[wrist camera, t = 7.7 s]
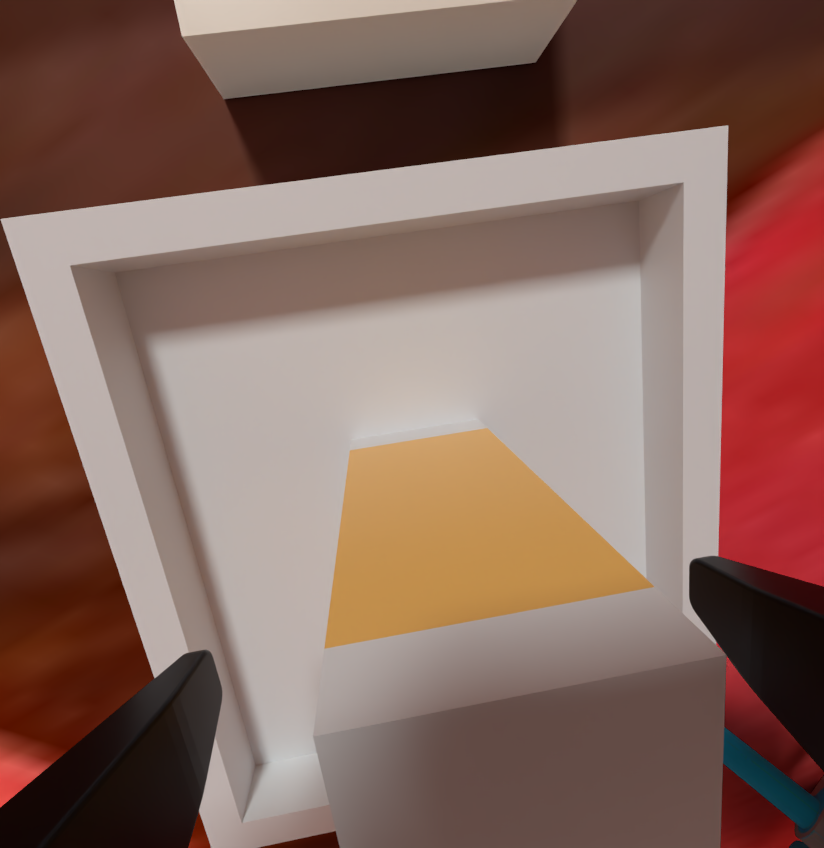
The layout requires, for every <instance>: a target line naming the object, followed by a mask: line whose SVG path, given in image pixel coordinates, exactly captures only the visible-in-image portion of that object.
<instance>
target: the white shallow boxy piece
mask: <svg viewBox="0 0 824 848" xmlns="http://www.w3.org/2000/svg"><path fill="white" fill-rule="evenodd" d="M576 1H577V0H174V3H175V7H176V12H177V16H178V21H179V25H180V30H181V34H182V37H183V39H184V40H185V42H186V43H187V45H188V46H189V48H190V49H191V51H192V52H193V54H194V55H195V57H196V58H197V60H198V61H199V63H200V64H201V66H202V67H203V69H204V70H205V72H206V73H207V75H208V76H209V78H210V79H211V81H212V82H213V84H214V85H215V87H216V88H217V90H218V91H219V93H220V94H221V96H222V97H223V99H230V98H238V97H247V96H255V95H264V94H272V93H281V92H289V91H298V90H307V89H315V88H324V87H332V86H341V85H349V84H358V83H366V82H375V81H383V80H392V79H400V78H409V77H417V76H426V75H434V74H443V73H451V72H460V71H469V70H477V69H486V68H494V67H503V66H511V65H520V64H528V63H536V61H537V60H538V58H539V57H540V55H541V54H542V52H543V51H544V49H545V48H546V46H547V45H548V43H549V42H550V40H551V39H552V37H553V36H554V34H555V33H556V31H557V30H558V28H559V27H560V25H561V24H562V22H563V21H564V19H565V18H566V16H567V15H568V13H569V12H570V10H571V9H572V7H573V6H574V4H575V3H576Z"/></svg>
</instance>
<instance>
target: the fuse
mask: <svg viewBox="0 0 824 848" xmlns="http://www.w3.org/2000/svg"><path fill="white" fill-rule="evenodd" d="M725 685H726V654H725V653H724V652H723V651H722V650H721V649H720V648H719V647H718V646H717V645H716V644H714V643H713V642H712V641H711V640H710V639H709V638H708V637H707V636H706V635H705V634H704V633H703V632H702V631H701V630H700V629H699V628H698V627H697V626H695V625H694V624H693V623H692V622H691V621H690V620H689V619H688V618H687V617H686V616H685V615H684V614H683V613H682V612H681V611H680V610H679V609H678V608H677V607H675V606H674V605H673V604H672V603H671V602H670V601H669V600H668V599H667V598H666V597H665V596H664V595H663V594H662V593H661V592H660V591H659V590H658V589H656V588H655V587H654V586H653V585H652V584H651V583H650V582H649V581H648V580H647V579H646V578H645V577H644V576H643V575H642V574H641V573H640V572H639V571H638V570H636V569H635V568H634V567H633V566H632V565H631V564H630V563H629V562H628V561H627V560H626V559H625V558H624V557H623V556H622V555H621V554H620V553H619V552H617V551H616V550H615V549H614V548H613V547H612V546H611V545H610V544H609V543H608V542H607V541H606V540H605V539H604V538H603V537H602V536H601V535H600V534H598V533H597V532H596V531H595V530H594V529H593V528H592V527H591V526H590V525H589V524H588V523H587V522H586V521H585V520H584V519H583V518H582V517H581V516H580V515H578V514H577V513H576V512H575V511H574V510H573V509H572V508H571V507H570V506H569V505H568V504H567V503H566V502H565V501H564V500H563V499H562V498H561V497H559V496H558V495H557V494H556V493H555V492H554V491H553V490H552V489H551V488H550V487H549V486H548V485H547V484H546V483H545V482H544V481H543V480H542V479H541V478H539V477H538V476H537V475H536V474H535V473H534V472H533V471H532V470H531V469H530V468H529V467H528V466H527V465H526V464H525V463H524V462H523V461H522V460H520V459H519V458H518V457H517V456H516V455H515V454H514V453H513V452H512V451H511V450H510V449H509V448H508V447H507V446H506V445H505V444H504V443H503V442H501V441H500V440H499V439H498V438H497V437H496V436H495V435H494V434H493V433H492V432H491V431H490V430H489V429H488V428H487V427H486V426H485V425H484V424H483V423H481V422H480V421H479V420H478V419H476V420H470V421H464V422H458V423H452V424H445V425H439V426H433V427H427V428H420V429H414V430H408V431H402V432H396V433H389V434H383V435H377V436H371V437H365V438H358V439H352V440H351V445H350V452H349V460H348V468H347V476H346V484H345V491H344V499H343V507H342V515H341V523H340V530H339V538H338V546H337V554H336V562H335V569H334V577H333V585H332V593H331V601H330V608H329V616H328V624H327V632H326V640H325V647H324V655H323V663H322V671H321V679H320V686H319V694H318V702H317V710H316V718H315V725H314V733H313V739H314V743H315V747H316V751H317V755H318V759H319V763H320V768H321V772H322V776H323V780H324V784H325V788H326V792H327V797H328V801H329V805H330V809H331V813H332V817H333V821H334V826H335V830H336V834H337V838H338V842H339V846H340V848H720V842H721V811H722V779H723V748H724V717H725Z"/></svg>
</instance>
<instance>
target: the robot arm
mask: <svg viewBox="0 0 824 848" xmlns="http://www.w3.org/2000/svg"><path fill="white" fill-rule="evenodd" d="M689 600H690V603H691V606H692V608H693V610H694V611H695V613H696V614H697V616H698V617H699V618H700V620H701V621H702V622H703V624H704V625H705V627H706V628H707V629H708V631H709V632H710V633H711V635H712V636H713V638H714V639H715V640H716V642H717V643H718V644H719V646H720V647H721V648H722V650H723V651H724V653H725V654H726V655H727V657H728V658H729V659H730V661H731V662H732V664H733V665H734V666H735V668H736V669H737V670H738V672H739V673H740V674H741V676H742V677H743V678H744V680H745V681H746V682H747V683H748V685H749V686H750V687H751V688H752V690H753V691H754V692H755V693H756V694H757V696H758V697H759V698H760V699H761V700H762V701H763V703H764V704H765V705H766V706H767V707H768V708H769V710H770V711H771V712H772V713H773V714H774V715H775V716H776V718H777V719H778V720H779V721H780V722H781V723H782V724H783V726H784V727H785V728H786V729H787V730H788V731H789V732H790V734H791V735H792V736H793V737H794V738H795V739H796V741H797V742H798V743H799V744H800V745H801V746H802V747H803V749H804V750H805V751H806V752H807V753H808V754H809V755H810V757H811V758H812V759H813V760H814V761H815V762H816V763H817V765H818V766H819V767H820V768H821V769H822V770H823V772H824V587H822V586H819V585H815V584H812V583H809V582H805V581H802V580H798V579H795V578H791V577H788V576H784V575H781V574H777V573H774V572H770V571H767V570H763V569H760V568H756V567H753V566H749V565H746V564H742V563H739V562H735V561H732V560H729V559H725V558H722V557H718V556H706V557H700V558H695V559H693V560H692V561H691V562H690V565H689ZM221 704H222V686H221V682H220V679H219V675H218V672H217V668H216V665H215V662H214V658H213V655H212V653H211V652H210V651H209V650H206V649H205V650H199V651H194V652H189V653H185V654H183V655H182V656H181V657H180V658H179V659H177V660H176V661H175V662H174V663H173V664H171V665H170V666H169V667H168V668H167V669H165V670H164V671H163V672H162V673H161V674H159V675H158V676H157V677H156V678H155V679H153V680H152V681H151V682H150V683H149V684H147V685H146V686H145V687H144V688H143V689H141V690H140V691H139V692H138V693H137V694H136V695H134V696H133V697H132V698H131V699H130V700H128V701H127V702H126V703H125V704H124V705H122V706H121V707H120V708H119V709H118V710H116V711H115V712H114V713H113V714H112V715H110V716H109V717H108V718H107V719H106V720H104V721H103V722H102V723H101V724H100V725H99V726H97V727H96V728H95V729H94V730H93V731H91V732H90V733H89V734H88V735H87V736H85V737H84V738H83V739H82V740H81V741H79V742H78V743H77V744H76V745H75V746H73V747H72V748H71V749H70V750H69V751H67V752H66V753H65V754H64V755H63V756H61V757H60V758H59V759H58V760H57V761H56V762H54V763H53V764H52V765H51V766H50V767H48V768H47V769H46V770H45V771H44V772H42V773H41V774H40V775H39V776H38V777H36V778H35V779H34V780H33V781H32V782H30V783H29V784H28V785H27V786H26V787H24V788H23V789H22V790H21V791H20V792H18V793H17V794H16V795H15V796H14V797H13V798H11V799H10V800H9V801H8V802H7V803H5V804H4V805H3V806H2V807H1V808H0V848H188V846H189V843H190V839H191V836H192V833H193V829H194V826H195V822H196V819H197V816H198V812H199V809H200V805H201V801H202V798H203V794H204V789H205V785H206V780H207V775H208V770H209V765H210V760H211V755H212V750H213V745H214V740H215V734H216V729H217V724H218V719H219V714H220V709H221Z"/></svg>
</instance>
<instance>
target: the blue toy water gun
mask: <svg viewBox="0 0 824 848" xmlns="http://www.w3.org/2000/svg"><path fill="white" fill-rule="evenodd" d="M723 764H725V765H726V766H727V767H728V768H729V769H731V770H732V771H733V772H734V773H735V774H737V775H738V776H739V777H740V778H741V779H743V780H744V781H745V782H746V783H748V784H749V785H750V786H751V787H752V788H754V789H755V790H756V791H757V792H758V793H760V794H761V795H762V796H763V797H765V798H766V799H767V800H768V801H769V802H771V803H772V804H773V805H774V806H775V807H777V808H778V809H779V810H780V811H782V812H783V813H784V814H785V815H786V816H788V817H789V818H790V819H791V820H792V821H794V822H795V835H796V836H797V837H798V838H799V839H800V840H801V841H802V842H801V841H795V842H793V843H792V844H791V845H790V846H789V848H824V775H823V777H822V778H821V780H820V781H819V783H818V784H817V785H816V787H815V788H814V790H813V791H812V793H811V794H810V793H808V792H807V791H806V790H804V789H803V788H802V787H801V786H799V785H798V784H797V783H795V782H794V781H793V780H792V779H790V778H789V777H788V776H786V775H785V774H784V773H783V772H781V771H780V770H779V769H778V768H776V767H775V766H774V765H772V764H771V763H770V762H769V761H767V760H766V759H765V758H763V757H762V756H761V755H760V754H758V753H757V752H756V751H755V750H753V749H752V748H751V747H749V746H748V745H747V744H746V743H744V742H743V741H742V740H740V739H739V738H738V737H737V736H735V735H734V734H733V733H732V732H730V731H729V730H728V729H726V728H725V727H724V748H723Z"/></svg>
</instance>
